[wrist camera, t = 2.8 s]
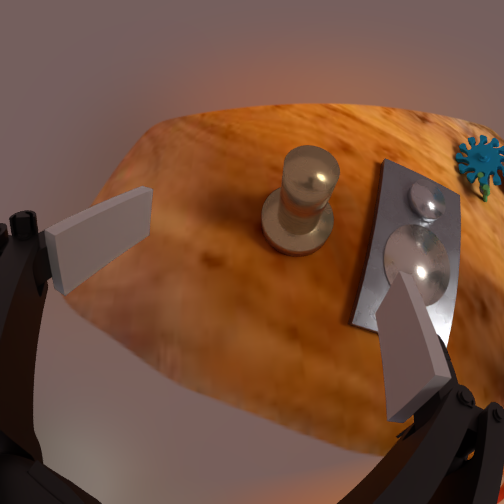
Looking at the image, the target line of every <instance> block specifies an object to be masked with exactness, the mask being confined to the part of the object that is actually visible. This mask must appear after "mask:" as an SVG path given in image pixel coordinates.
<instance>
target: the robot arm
mask: <svg viewBox="0 0 504 504" xmlns="http://www.w3.org/2000/svg"><path fill="white" fill-rule="evenodd" d="M152 196H153V189H151V188H148V187H144V186H141V187H138V188H136V189H133V190H130V191H128V192H125V193H123V194H120V195H118V196H115V197H113V198H111V199H108V200H106V201H104V202H101V203H99V204H97V205H94V206H92V207H90V208H88V209H85V210H83V211H81V212H79V213H77V214H75V215H73V216H70V217H68V218H66V219H64V220H62V221H60V222H58V223H56V224H54V225H52V226H50V227H48V228H46V229H45V230H44V231H42V232H40V233H38V226H37V218H36V213H35V212H33V211H28V210H27V211H21V212H18V213H15V214H14V215H12V216H11V217H10V218H9V220H10V226H11V233H12V236H11V235H8V231H7V225H6V224H3V223H0V504H102V503H101V502H99V501H98V500H97V499H96V498H94V497H93V496H91V495H89V494H88V493H86V492H85V491H84V490H82V489H81V488H79V487H78V486H77V485H75V484H74V483H73V482H71V481H69V480H67V479H66V478H64V477H63V476H61V475H59V474H58V473H56V472H55V471H53V470H52V469H50V468H48V467H47V466H46V465H44V464H43V458H42V452H41V447H40V444H39V441H38V439H37V437H36V435H35V432H34V427H33V390H34V389H33V388H34V372H35V361H36V351H37V344H38V337H39V330H40V324H41V318H42V313H43V308H44V304H45V299H46V294H47V290H48V284H47V280H48V279H50V278H51V277H52V279H53V283H54V288H55V289H56V290H57V291H59V292H60V293H62V294H63V295H65V296H66V295H67V294H68V293H70V292H71V291H72V290H74V289H75V288H76V287H77V286H79V285H80V284H81V283H83V282H84V281H85V280H87V279H88V278H89V277H91V276H92V275H93V274H95V273H96V272H97V271H99V270H100V269H101V268H103V267H104V266H106V265H107V264H108V263H110V262H111V261H113V260H114V259H115V258H117V257H118V256H120V255H121V254H122V253H124V252H125V251H127V250H128V249H130V248H131V247H133V246H134V245H136V244H137V243H138V242H140V241H141V240H143V239H144V238H146V237H147V236H149V234H150V219H151V207H152ZM375 316H376V322H377V328H378V334H379V341H380V348H381V356H382V364H383V373H384V382H385V394H386V408H387V421H391V422H399V423H404V422H405V421H406V420H407V419H409V418H410V417H411V416H412V415H414V423H413V424H412V425H411V426H409V427H408V428H407V429H406V430H404V431H403V432H402V433H400V434H399V435H398V436H396V437H397V438H399V437H401V438H400V439H399V440H398V441H397V443H396V444H395V445H394V446H393V447H392V449H391V450H390V451H389V452H388V453H387V454H386V456H385V457H384V458H383V459H382V460H381V461H380V462H379V463H378V464H377V466H376V467H375V468H374V469H373V470H372V471H371V472H370V473H369V474H368V475H367V476H366V477H365V478H364V479H363V480H362V481H361V482H360V483H359V484H358V485H357V486H356V487H355V488H354V489H353V490H352V491H350V492H349V493H348V494H347V495H346V496H345V497H344V498H343V499H342V500H340V501H339V502H338V503H337V504H497V500H498V495H499V491H500V485H501V480H502V474H503V467H504V409H503V407H502V406H500V405H499V404H498V403H496V402H491V403H490V404H489V405H488V406H487V407H486V408H485V409H484V410H483V409H481V408H479V407H477V406H475V399H474V397H473V395H472V393H471V392H470V391H469V389H468V388H466V387H465V386H463V385H460V384H458V381H457V378H456V374H455V371H454V368H453V365H452V362H451V361H450V360H451V359H450V356H449V354H448V351H447V348H446V345H445V343H444V342H443V340H442V339H441V337H440V336H439V335H438V334H436V331H435V328H434V326H433V323H432V321H431V318H430V316H429V313H428V311H427V309H426V306H425V304H424V302H423V299H422V297H421V295H420V293H419V290H418V288H417V286H416V284H415V282H414V280H413V277H412V275H410V274H407V273H404V272H402V271H399V272H398V274H397V275H396V277H395V279H394V281H393V283H392V285H391V287H390V288H389V290H388V292H387V294H386V296H385V297H384V299H383V301H382V303H381V304H380V306H379V308H378V309H377V311H376V313H375ZM473 451H474V455H473V457H472V458H471V459H469V460H467V458H468V455H469V454H470V453H472V452H473Z"/></svg>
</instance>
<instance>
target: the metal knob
mask: <svg viewBox="0 0 504 504" xmlns="http://www.w3.org/2000/svg"><path fill="white" fill-rule="evenodd" d="M339 175H340V169H339V165H338V163H337V161H336V159H335V158H334V157H333V156H332V155H331V154H330V153H329V152H327V151H326V150H324V149H322V148H319V147H316V146H309V145H306V146H300V147H297V148H295V149H293V150H291V151H290V152H289V153H288V154H287V156H286V158H285V161H284V168H283V176H282V183H281V188H278V189H277V190H275V191H274V192H272V193H271V194H270V195H269V196H268V198H267V199H266V201H265V203H264V205H263V208H262V224H261V225H262V231H263V234H264V237H265V239H266V240H267V242H268V243H269V244H270V245H271V246H272V247H273V248H274V249H275V250H276V251H278V252H280V253H282V254H284V255H287V256H292V257H302V256H307V255H310V254H312V253H314V252H316V251H317V250H318V249H320V248H321V247H322V245H323V244H324V243H325V241H326V240H327V238H328V236H329V235H330V233H331V231H332V228H333V221H334V218H333V212H332V209H331V206H330V205H329V203H328V201H329V198H330V196H331V194H332V192H333V190H334V187H335V185H336V183H337V181H338V179H339Z"/></svg>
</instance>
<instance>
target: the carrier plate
mask: <svg viewBox="0 0 504 504" xmlns="http://www.w3.org/2000/svg"><path fill="white" fill-rule="evenodd" d="M460 239H461V212H460V195H458V194H457V193H455V192H453V191H451V190H449V189H448V188H446V187H444V186H442V185H440V184H438V183H436V182H434V181H433V180H431V179H429V178H427V177H425V176H423V175H421V174H418V173H416V172H414V171H412V170H410V169H408V168H406V167H404V166H401V165H399V164H397V163H395V162H392V161H390V160H388V159H384V160H383V162H382V164H381V172H380V180H379V187H378V194H377V200H376V207H375V213H374V218H373V224H372V229H371V234H370V239H369V244H368V249H367V253H366V258H365V262H364V267H363V271H362V275H361V279H360V283H359V287H358V291H357V294H356V298H355V302H354V305H353V309H352V312H351V316H350V319H349V323H348V324H349V325H352V326H355V327H358V328H362V329H365V330H368V331H371V332H375V333H378V328H377V322H376V316H375V313H376V311H377V309H378V308H379V306H380V304H381V303H382V301H383V299H384V297H385V296H386V294H387V292H388V290H389V288H390V287H391V285H392V283H393V281H394V279H395V277H396V275H397V274H398V272H399V271H402V272H404V273H407V274H410V275H412V277H413V280H414V282H415V284H416V286H417V288H418V290H419V293H420V295H421V297H422V299H423V302H424V304H425V306H426V309H427V311H428V313H429V316H430V318H431V321H432V323H433V326H434V328H435V331H436V334H438V335H439V336H440V337H441V339H442V340H443V342H444V343H445V345H446V348H447V343H448V339H449V334H450V329H451V324H452V319H453V313H454V307H455V300H456V292H457V284H458V274H459V261H460Z"/></svg>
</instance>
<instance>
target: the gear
mask: <svg viewBox="0 0 504 504" xmlns="http://www.w3.org/2000/svg"><path fill="white" fill-rule="evenodd" d="M468 142H469V144H470V145H471V147H472V148H471V150H467V148H466V145H465V144H464V143H462V144H461V145H460V146H459V148H460V151H461V152H463V153H465V154H466V155H467V156H468V157H463V156H462V154H461V153H457V155H456V161H457V162H464V163H467V164H469V165H468V166H466V165H464V164H459V171H460V173H461V174H464V173H465V172H467V171H474V172H475V173H468V174H467V179H468V181H469V182H470V183H473V182H474V181H475V179H476V178H477V177H478V181H479V183H480V186H479V188H480V193H481V194H483V201H484V202H487V196H489V195H490V188H489V182H490V175H494V177H493V183H494V185H501V178H500V177H499V176H498V174H497V170H502V172H503V177H504V166H503V165H502V164H501V162H504V156H501V155H499V154H503V155H504V146H502V147H501V148H492V147H499V141H498V140H497V139H496V138H493V139H492V141H491V142H490V143H489V144H486V143H487V137H486V136H484V135H480V143H479V144H478V145H475V144H476V142H475V138H474V137H470V138H468ZM484 144H486V145H484Z"/></svg>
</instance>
